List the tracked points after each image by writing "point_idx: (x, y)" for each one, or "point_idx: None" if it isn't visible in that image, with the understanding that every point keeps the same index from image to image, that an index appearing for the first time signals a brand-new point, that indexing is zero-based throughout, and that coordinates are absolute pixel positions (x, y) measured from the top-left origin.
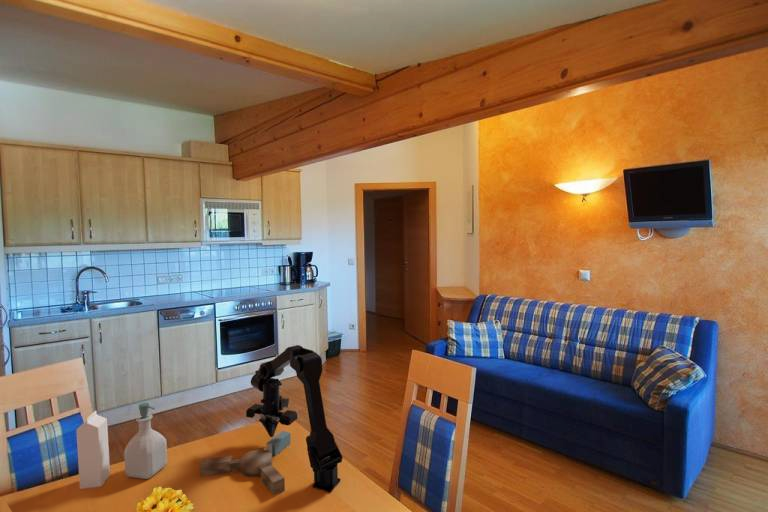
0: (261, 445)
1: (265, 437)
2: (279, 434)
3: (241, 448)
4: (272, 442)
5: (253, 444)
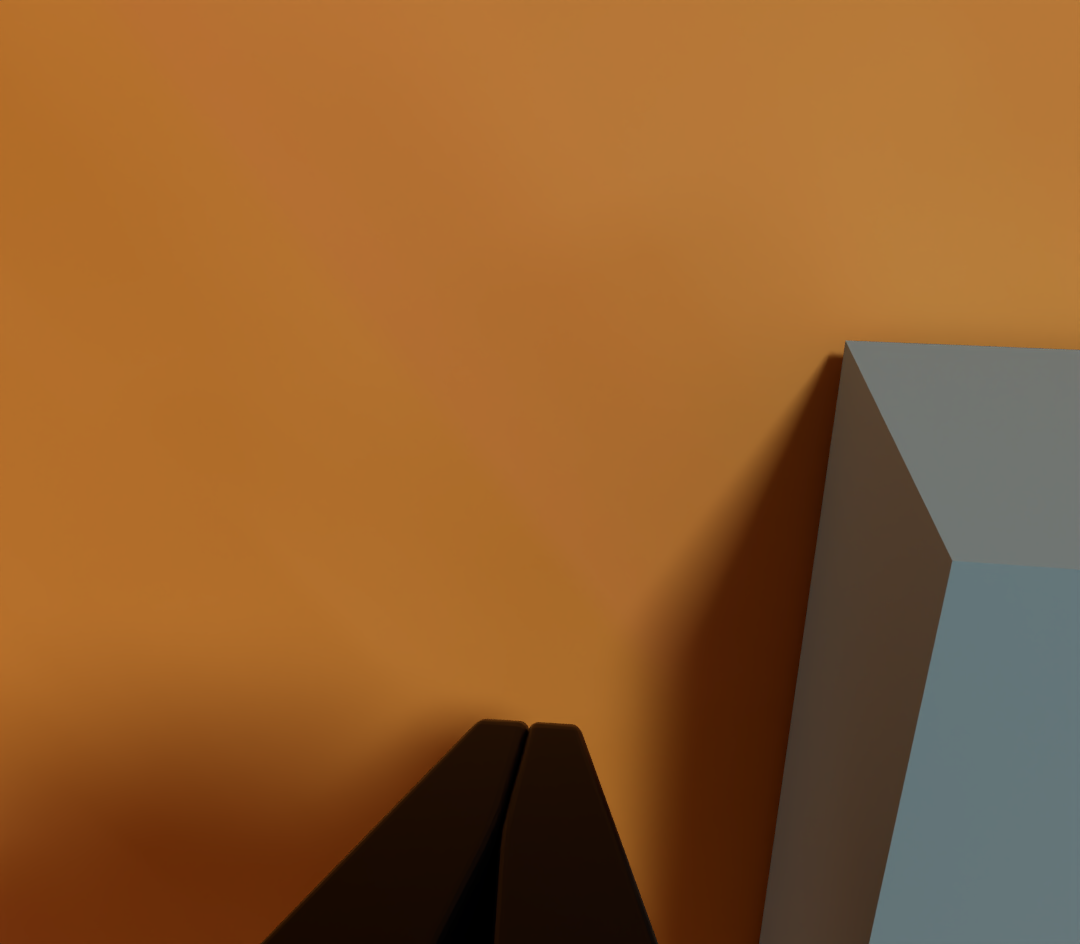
0: (322, 692)
1: (58, 274)
2: (977, 910)
3: (16, 884)
4: None
5: (96, 701)
